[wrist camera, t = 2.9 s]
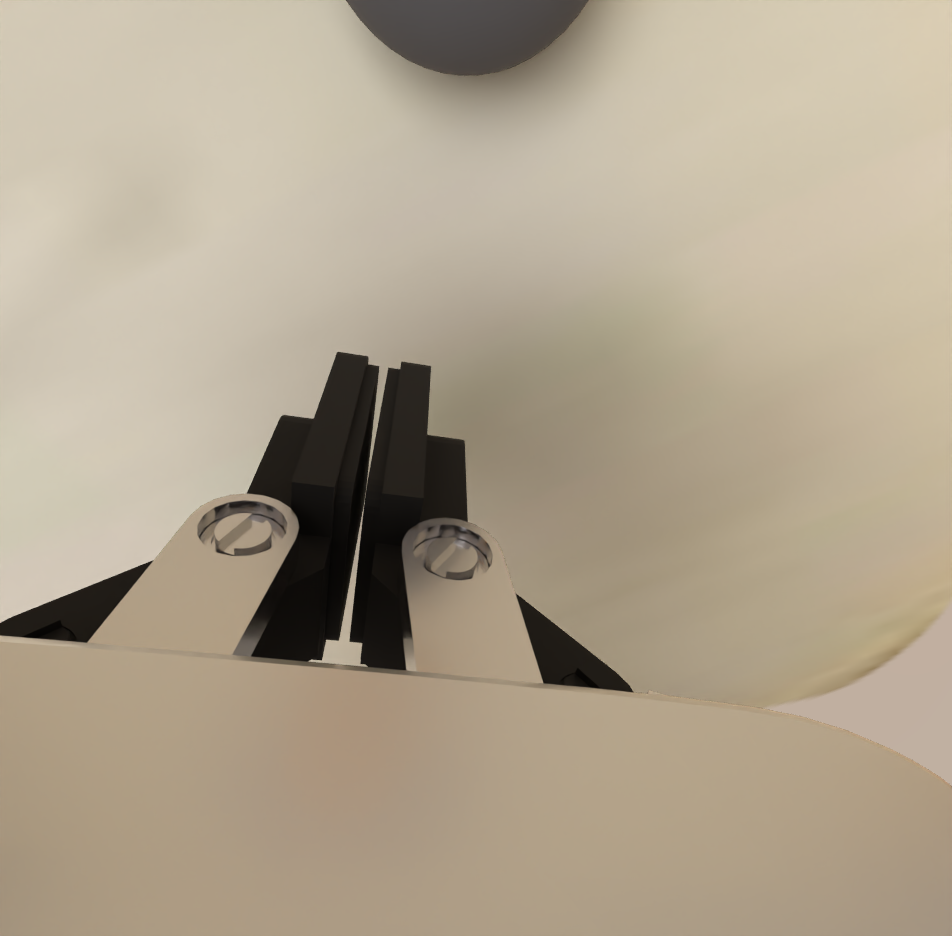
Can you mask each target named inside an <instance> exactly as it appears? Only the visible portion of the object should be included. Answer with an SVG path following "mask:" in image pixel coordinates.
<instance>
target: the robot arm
mask: <svg viewBox="0 0 952 936" xmlns="http://www.w3.org/2000/svg"><path fill="white" fill-rule="evenodd" d="M378 374H379V366H374V365H368V356H362V355H355V354H349V353H342V352H337V355H336V357H335V360H334V363H333V366H332V369H331V372H330V374H329V377H328V380H327V383H326V386H325V389H324V391H323V394H322V397H321V400H320V403H319V406H318V408H317V411H316V414H315V417H314V419H309V418H302V417H295V416H287V415H282V416H281V418H280V420H279V422H278V424H277V426H276V429H275V431H274V433H273V435H272V438H271V440H270V442H269V444H268V447H267V449H266V451H265V453H264V456H263V458H262V460H261V463H260V465H259V467H258V469H257V472H256V474H255V476H254V478H253V481H252V483H251V485H250V487H249V490H248V492H247V494H236V495H228V496H225V497H221V498H217V499H214V500H212V501H210V502H208V503H206V504H204V505H202V506H200V507H199V508H198V509H197V510H196V511H195V512H193V513H192V514H191V515H190V516H189V518H188V519H187V520H186V521H185V522H184V524H183V525H182V526H181V527H180V529H179V530H178V531H177V532H176V534H175V535H174V536H173V537H172V539H171V540H170V541H169V542H168V543H167V545H166V546H165V547H164V548H163V550H162V551H161V552H160V553H159V555H158V556H157V557H156V558H155V559H154V560H153V561H150V562H148V563H145V564H143V565H140V566H138V567H135V568H133V569H130V570H128V571H125V572H123V573H121V574H118V575H116V576H113V577H111V578H108V579H106V580H103V581H101V582H98V583H96V584H93V585H91V586H88V587H86V588H83V589H81V590H78V591H76V592H73V593H71V594H68V595H66V596H63V597H61V598H58V599H56V600H53V601H51V602H48V603H46V604H43V605H41V606H38V607H36V608H33V609H31V610H28V611H26V612H23V613H21V614H18V615H16V616H13V617H11V618H9V619H7V620H5V621H3V622H1V623H0V936H952V786H951V785H949V784H948V783H947V782H946V781H945V780H943V779H942V778H941V777H939V776H938V775H936V774H935V773H933V772H931V771H930V770H928V769H926V768H925V767H923V766H921V765H920V764H918V763H916V762H914V761H913V760H911V759H909V758H907V757H905V756H903V755H901V754H899V753H897V752H896V751H894V750H892V749H889V748H887V747H885V746H883V745H880V744H878V743H875V742H873V741H871V740H868V739H866V738H864V737H861V736H859V735H857V734H854V733H852V732H849V731H847V730H844V729H841V728H837V727H834V726H831V725H828V724H825V723H821V722H818V721H815V720H811V719H808V718H805V717H801V716H796V715H791V714H787V713H782V712H777V711H772V710H767V709H763V708H758V707H751V706H743V705H736V704H728V703H721V702H713V701H706V700H698V699H690V698H683V697H675V696H669V695H665V694H662V693H658V692H655V691H652V690H648V692H647V694H644V693H634V692H633V691H632V689H631V688H630V686H629V685H628V684H627V683H626V682H625V681H624V680H623V679H622V678H621V677H620V676H619V675H618V674H617V673H616V672H615V671H614V670H612V669H611V668H610V667H608V666H607V665H606V664H605V663H603V662H602V661H601V660H600V659H598V658H597V657H596V656H594V655H593V654H592V653H591V652H589V651H588V650H587V649H586V648H584V647H583V646H582V645H581V644H579V643H578V642H577V641H575V640H574V639H573V638H572V637H570V636H569V635H568V634H567V633H565V632H564V631H563V630H562V629H560V628H559V627H558V626H556V625H555V624H554V623H553V622H551V621H550V620H549V619H548V618H546V617H545V616H544V615H543V614H541V613H540V612H539V611H537V610H536V609H535V608H534V607H532V606H531V605H530V604H529V603H527V602H526V601H525V600H524V599H522V598H521V597H520V596H518V595H517V594H516V593H515V590H514V587H513V584H512V581H511V578H510V574H509V571H508V568H507V565H506V562H505V558H504V555H503V552H502V550H501V548H500V546H499V544H498V542H497V541H496V540H495V539H494V538H493V537H492V536H491V535H490V534H489V533H488V532H487V531H485V530H484V529H482V528H480V527H478V526H477V525H475V524H472V523H469V522H468V520H467V493H466V467H465V444H464V440H460V439H452V438H445V437H438V436H431V435H427V428H428V410H429V392H430V374H431V366H426V365H420V364H413V363H407V362H401V368H400V369H394V368H388V373H387V379H386V384H385V390H384V395H383V401H382V406H381V412H380V417H379V423H378V428H377V434H376V439H375V445H374V450H373V456H372V461H371V467H370V472H369V478H368V483H367V475H368V466H369V457H370V448H371V439H372V430H373V420H374V411H375V402H376V393H377V384H378ZM366 485H367V490H366ZM365 493H366V497H365ZM364 500H365V504H364ZM363 506H364V513H363V522H362V531H361V540H360V550H359V559H358V568H357V577H356V586H355V596H354V605H353V614H352V623H351V632H350V642H359V643H363V644H362V652H361V663H360V664H366V665H367V666H368V667H361V666H350V665H339V664H328V663H317V662H308V661H310V660H311V659H313V660H322V657H323V652H324V647H325V642H326V639H327V640H337V641H339V637H340V632H341V627H342V621H343V616H344V610H345V605H346V599H347V594H348V588H349V583H350V577H351V572H352V566H353V561H354V555H355V550H356V544H357V539H358V533H359V528H360V522H361V517H362V511H363Z"/></svg>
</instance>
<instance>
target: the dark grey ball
mask: <svg viewBox="0 0 952 936" xmlns="http://www.w3.org/2000/svg"><path fill="white" fill-rule="evenodd" d="M346 1H347V2H348V4H349V5H350V6H351V8H352V9H353V11H354V12H355V13H356V15H357V16H358V17H359V19H360V20H361V21H362V22H363V23H364V24H365V25H366V27H367V28H368V29H369V30H370V31H371V32H372V33H373V34H374V35H375V36H376V37H377V38H378V39H380V40H381V41H382V42H383V43H384V44H385V45H387V46H388V47H389V48H390V49H392V50H393V51H395V52H396V53H398V54H399V55H401V56H402V57H404V58H406V59H407V60H409V61H411V62H413V63H416V64H418V65H420V66H422V67H424V68H427V69H431V70H434V71H437V72H441V73H446V74H453V75H483V74H489V73H495V72H499V71H502V70H505V69H508V68H511V67H514V66H516V65H518V64H520V63H522V62H524V61H526V60H528V59H530V58H532V57H533V56H534V55H536V54H537V53H539V52H540V51H542V50H543V49H545V48H546V47H547V46H549V45H550V44H551V43H552V42H553V41H554V40H555V39H556V38H557V37H558V36H560V35H561V34H562V33H563V32H564V31H565V30H566V29H567V27H568V26H569V25H570V24H571V23H572V22H573V20H574V19H575V18H576V17H577V16H578V15H579V13H580V12H581V10H582V9H583V7H584V6H585V5H586V3H587V2H588V0H346Z"/></svg>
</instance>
